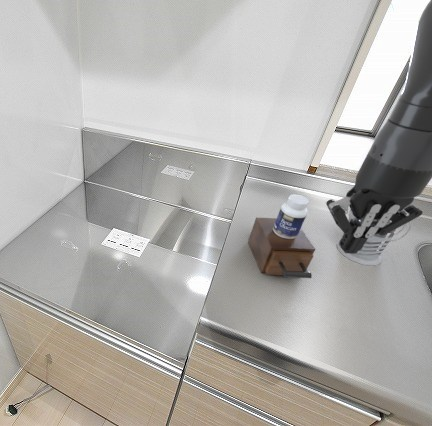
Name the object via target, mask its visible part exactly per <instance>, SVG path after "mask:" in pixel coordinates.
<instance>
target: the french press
mask: <svg viewBox="0 0 432 426" xmlns="http://www.w3.org/2000/svg"><path fill="white" fill-rule="evenodd" d="M391 222H392V221H388V222H387V223H386V224H385V226H386V225H388V224H389V223H391ZM407 224H409V228H408V230H407V231H406V232H405V233H404V234H402V236H400V237H398V238H396V239H393V238H394V236H397V235H398V234H400V233H402V232H403V231H404V229H405V228H406V227H407ZM411 229H412V222H411V221H410V222H408V223H406V224H404V225H403V227H402V228H401V229H400V230H399V231H398V232H396V230H397V229H395V230H393V231H391V232H389V233H388V234H389V235H388V234H386V235H383V236H381V235H379V234H375V235H374V236H373V237H371V238H368V239H367V241H366V243H365V244H364V246H363V247H362V249H361V250H359V251H358V252H357V253H356V254H349V253H345V252H344V251H343V250H342V248H341V247H340V245H339V242H340V241H338V242H337V244H336V248H337V251H339V253H340V254H341V255H342V256H343V257H345V258H347V259H348V260H349V261H352V262H354V263H357V264H360V265H365V266H377V265H379V264H382V260H383V258H382V256H381V254H382V253H383V251H384V250H385V249H386V247H388V244H389V243H391V242H396V241H398V240H401V239H403V238H404V237H406V236H407V234H409V232H410V231H411ZM395 232H396V233H395Z"/></svg>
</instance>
